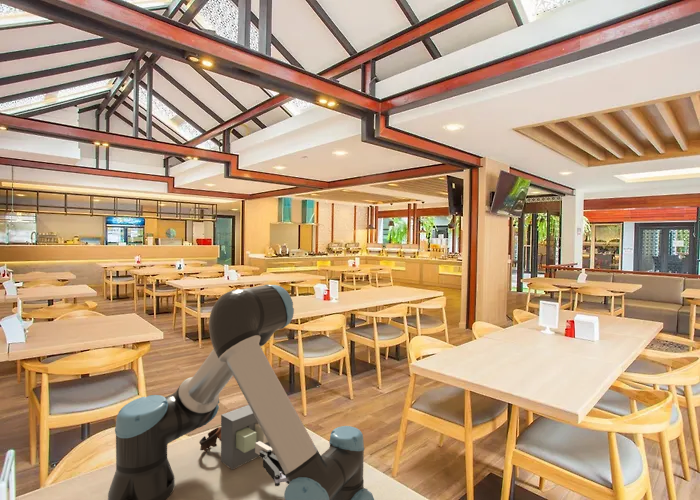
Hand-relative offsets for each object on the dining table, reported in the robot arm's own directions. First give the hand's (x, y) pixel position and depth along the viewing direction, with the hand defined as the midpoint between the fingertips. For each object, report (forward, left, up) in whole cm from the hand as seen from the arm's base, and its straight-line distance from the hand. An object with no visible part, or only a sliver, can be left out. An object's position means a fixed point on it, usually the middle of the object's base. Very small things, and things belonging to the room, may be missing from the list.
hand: (257, 446), depth 109 cm
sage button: (0, +6, -2) cm, 6 cm away
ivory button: (+6, +6, -2) cm, 9 cm away
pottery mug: (0, +19, -8) cm, 20 cm away
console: (+6, +10, -8) cm, 14 cm away
